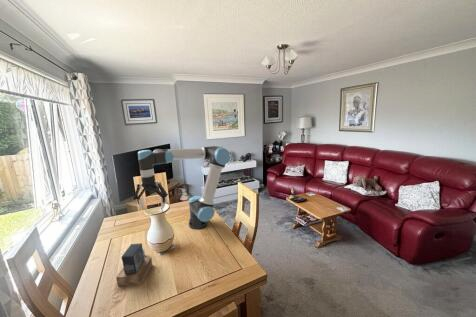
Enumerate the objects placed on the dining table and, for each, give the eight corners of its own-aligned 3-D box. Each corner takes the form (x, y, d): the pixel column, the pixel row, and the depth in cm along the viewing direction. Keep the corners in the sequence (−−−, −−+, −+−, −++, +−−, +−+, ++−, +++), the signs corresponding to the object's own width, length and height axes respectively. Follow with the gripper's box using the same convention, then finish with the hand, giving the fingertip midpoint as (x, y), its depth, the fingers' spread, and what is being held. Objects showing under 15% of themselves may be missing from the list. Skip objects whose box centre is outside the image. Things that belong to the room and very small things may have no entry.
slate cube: (145, 255, 124) (144, 248, 123) (143, 260, 119) (142, 253, 118) (136, 256, 123) (135, 249, 122) (134, 262, 118) (133, 254, 117)
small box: (133, 260, 112) (130, 243, 110) (144, 259, 113) (142, 242, 111) (123, 274, 102) (120, 256, 100) (136, 273, 102) (133, 255, 100)
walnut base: (152, 264, 115) (151, 257, 114) (141, 284, 101) (139, 276, 100) (131, 265, 115) (130, 258, 114) (117, 285, 101) (116, 277, 100)
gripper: (170, 172, 124) (174, 204, 129) (130, 174, 124) (135, 206, 128) (166, 176, 117) (170, 209, 121) (123, 178, 116) (129, 211, 121)
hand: (152, 208), depth 125 cm, fingers open, 13 cm apart
